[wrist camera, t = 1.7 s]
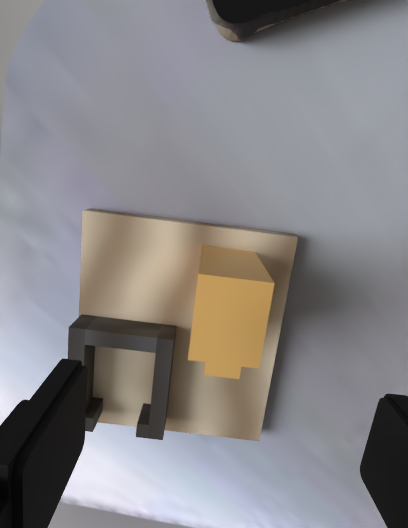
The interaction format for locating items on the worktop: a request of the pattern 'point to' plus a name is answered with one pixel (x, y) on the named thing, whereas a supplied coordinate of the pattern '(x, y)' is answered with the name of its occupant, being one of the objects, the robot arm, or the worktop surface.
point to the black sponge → (257, 14)
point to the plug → (230, 311)
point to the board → (166, 326)
